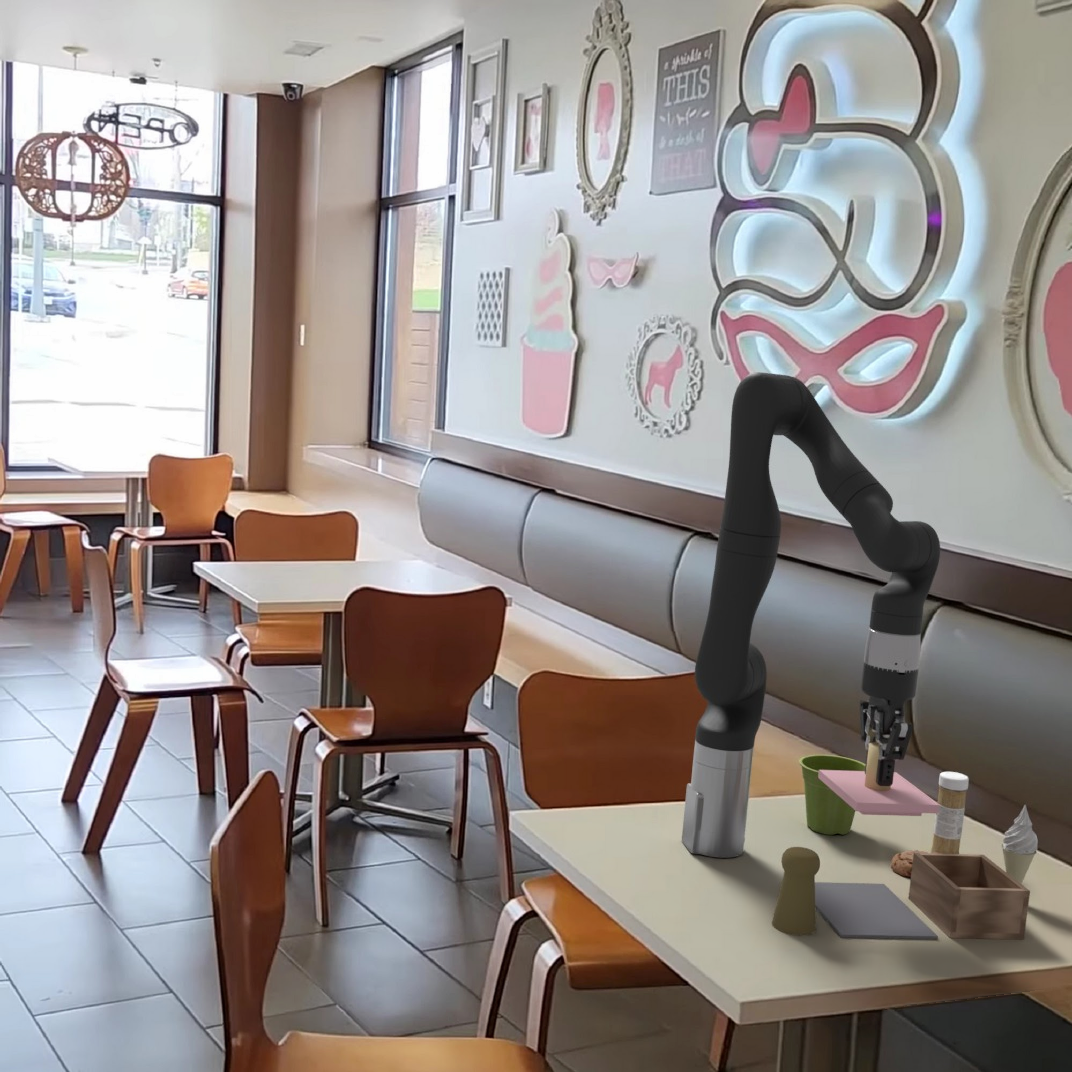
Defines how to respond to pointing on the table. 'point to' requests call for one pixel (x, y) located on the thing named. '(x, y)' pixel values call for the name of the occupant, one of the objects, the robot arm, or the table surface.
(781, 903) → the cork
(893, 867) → the cookie
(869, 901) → the mat
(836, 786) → the lid
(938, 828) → the sprinkles bottle
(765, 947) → the table surface
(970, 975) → the table surface
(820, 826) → the plant pot
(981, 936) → the box
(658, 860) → the table surface
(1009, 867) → the ice cream cone
